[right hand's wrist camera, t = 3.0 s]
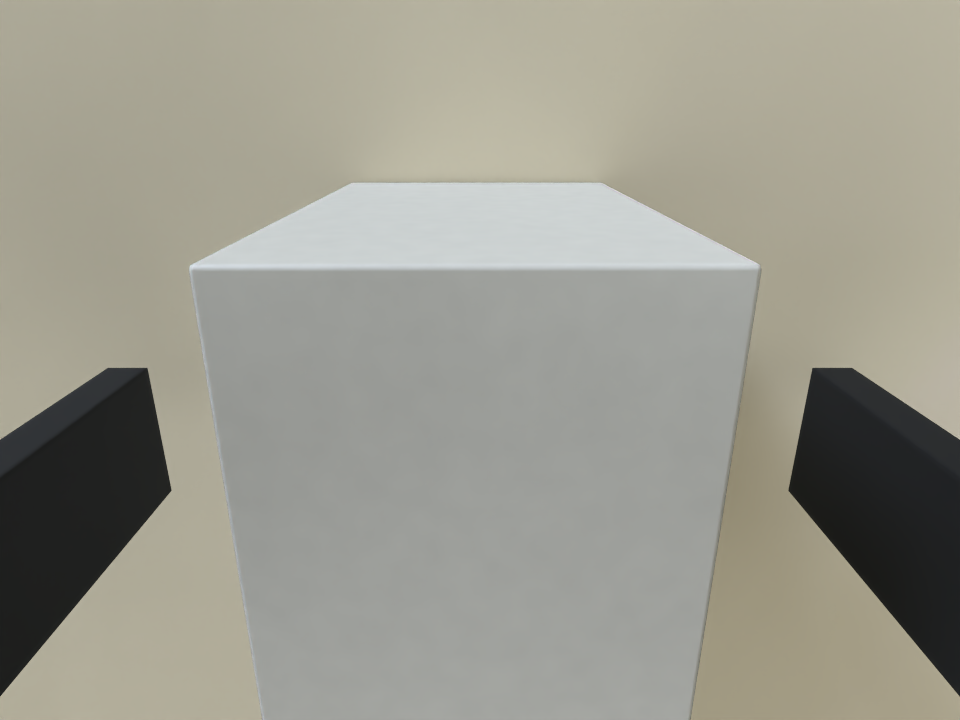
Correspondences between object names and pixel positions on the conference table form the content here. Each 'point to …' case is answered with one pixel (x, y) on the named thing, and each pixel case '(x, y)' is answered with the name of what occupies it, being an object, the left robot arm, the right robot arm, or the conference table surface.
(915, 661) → the conference table surface
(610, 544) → the block
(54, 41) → the conference table surface
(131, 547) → the conference table surface
